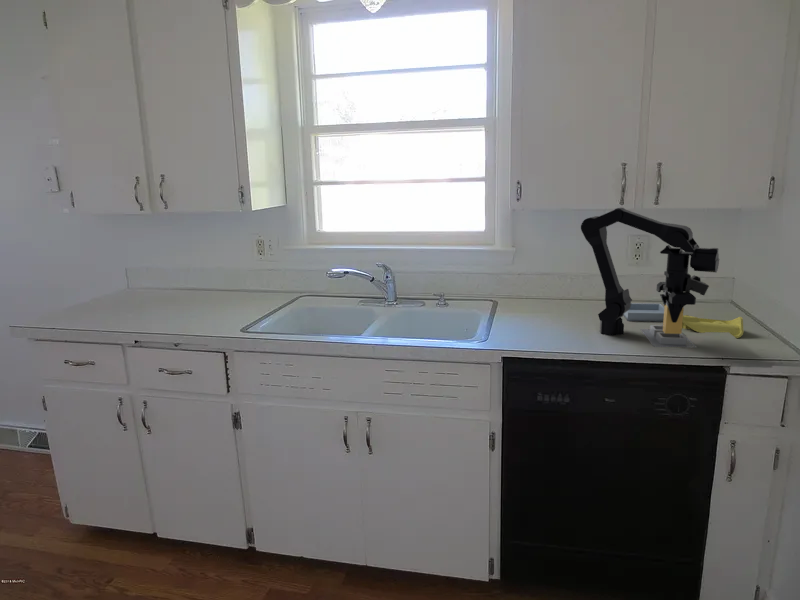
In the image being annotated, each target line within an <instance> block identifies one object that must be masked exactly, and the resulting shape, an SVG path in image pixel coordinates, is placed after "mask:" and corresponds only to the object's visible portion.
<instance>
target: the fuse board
mask: <svg viewBox="0 0 800 600" xmlns="http://www.w3.org/2000/svg"><path fill="white" fill-rule="evenodd" d="M639 329H640V331H641V332H642V333H643V334H644V336H645V337H646V338H647V340H648V341H649V342H650V344H651V345H652V347H661V348H662V347H663V348H666V347H667V348H689V349H690V348H691V349H692V348H694V349H696V348H698V347H697V345H696V344H695V343H694V342H692V340H690V338H689V337H688V336H686V335H685V333H683V332H682V333H681V334H668V333H664V332H663V324H662V325H661V324H660V325H659V324H658V325H657V324H656V325H655V324H650V325H649V328H639Z"/></svg>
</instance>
